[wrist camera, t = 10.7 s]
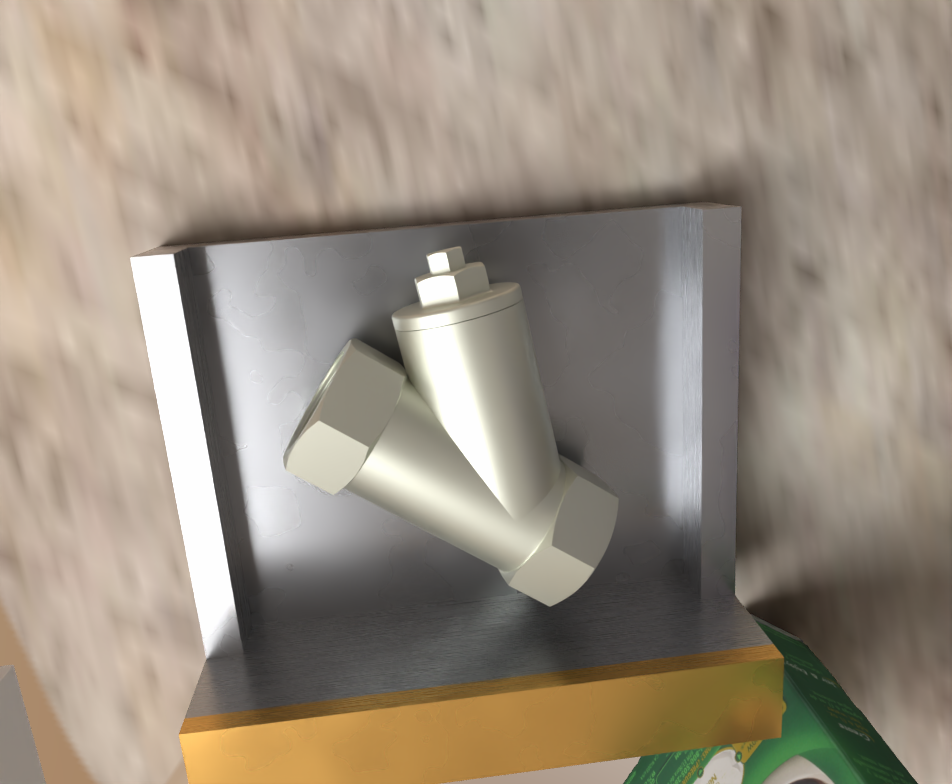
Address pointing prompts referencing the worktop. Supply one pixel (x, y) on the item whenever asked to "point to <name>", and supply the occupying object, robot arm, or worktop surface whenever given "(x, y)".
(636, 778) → the coffee box
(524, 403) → the pipe fitting
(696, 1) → the worktop surface
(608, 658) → the grey tray
